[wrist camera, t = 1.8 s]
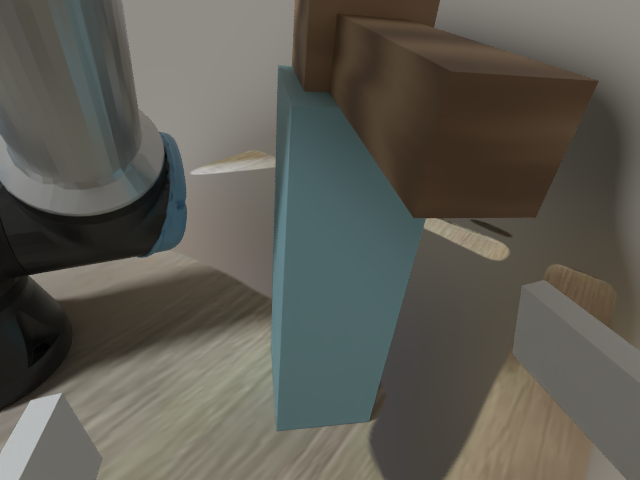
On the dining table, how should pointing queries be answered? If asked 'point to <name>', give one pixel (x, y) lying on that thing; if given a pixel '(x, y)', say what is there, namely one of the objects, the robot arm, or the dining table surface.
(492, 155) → the brown wooden block
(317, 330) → the stand
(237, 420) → the dining table surface
